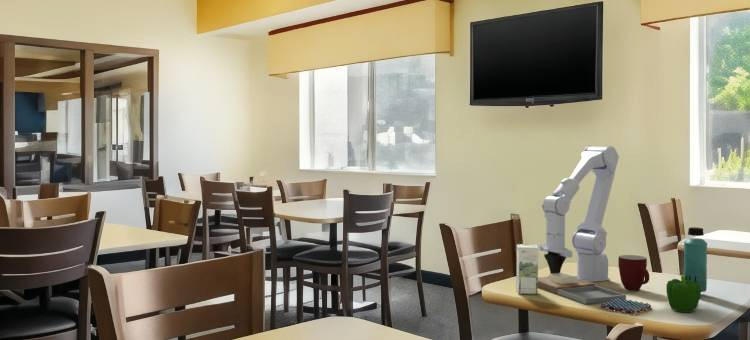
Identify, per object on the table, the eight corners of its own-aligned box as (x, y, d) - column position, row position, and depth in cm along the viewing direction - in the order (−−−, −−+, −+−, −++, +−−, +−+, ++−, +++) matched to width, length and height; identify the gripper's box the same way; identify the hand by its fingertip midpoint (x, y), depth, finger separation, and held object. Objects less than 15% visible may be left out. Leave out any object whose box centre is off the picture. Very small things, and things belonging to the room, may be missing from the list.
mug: (659, 292, 199) (659, 259, 198) (640, 295, 195) (641, 261, 194) (630, 285, 208) (630, 254, 207) (612, 288, 204) (612, 256, 203)
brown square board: (566, 280, 215) (566, 274, 215) (595, 290, 202) (595, 283, 202) (529, 284, 210) (529, 278, 210) (556, 294, 197) (556, 287, 197)
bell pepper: (674, 304, 184) (675, 269, 183) (704, 310, 178) (705, 273, 177) (660, 310, 178) (660, 273, 178) (691, 316, 172) (691, 278, 172)
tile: (564, 278, 209) (565, 272, 209) (577, 282, 204) (577, 276, 203) (548, 280, 207) (548, 273, 207) (560, 284, 201) (560, 277, 201)
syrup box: (535, 290, 202) (535, 243, 201) (538, 295, 196) (538, 246, 195) (516, 290, 202) (516, 243, 202) (518, 294, 197) (518, 246, 196)
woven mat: (597, 310, 180) (597, 303, 180) (617, 304, 187) (617, 296, 187) (634, 318, 172) (634, 310, 172) (653, 311, 179) (653, 303, 179)
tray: (595, 290, 202) (595, 285, 202) (625, 300, 190) (626, 294, 189) (557, 294, 197) (557, 289, 197) (585, 304, 185) (585, 299, 185)
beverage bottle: (705, 293, 197) (706, 226, 196) (708, 298, 191) (709, 229, 190) (681, 291, 199) (682, 225, 198) (683, 296, 193) (684, 228, 192)
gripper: (531, 231, 214) (531, 273, 214) (558, 237, 200) (558, 282, 201) (549, 230, 216) (549, 271, 217) (578, 236, 203) (577, 280, 203)
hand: (555, 276), depth 209 cm, fingers closed
